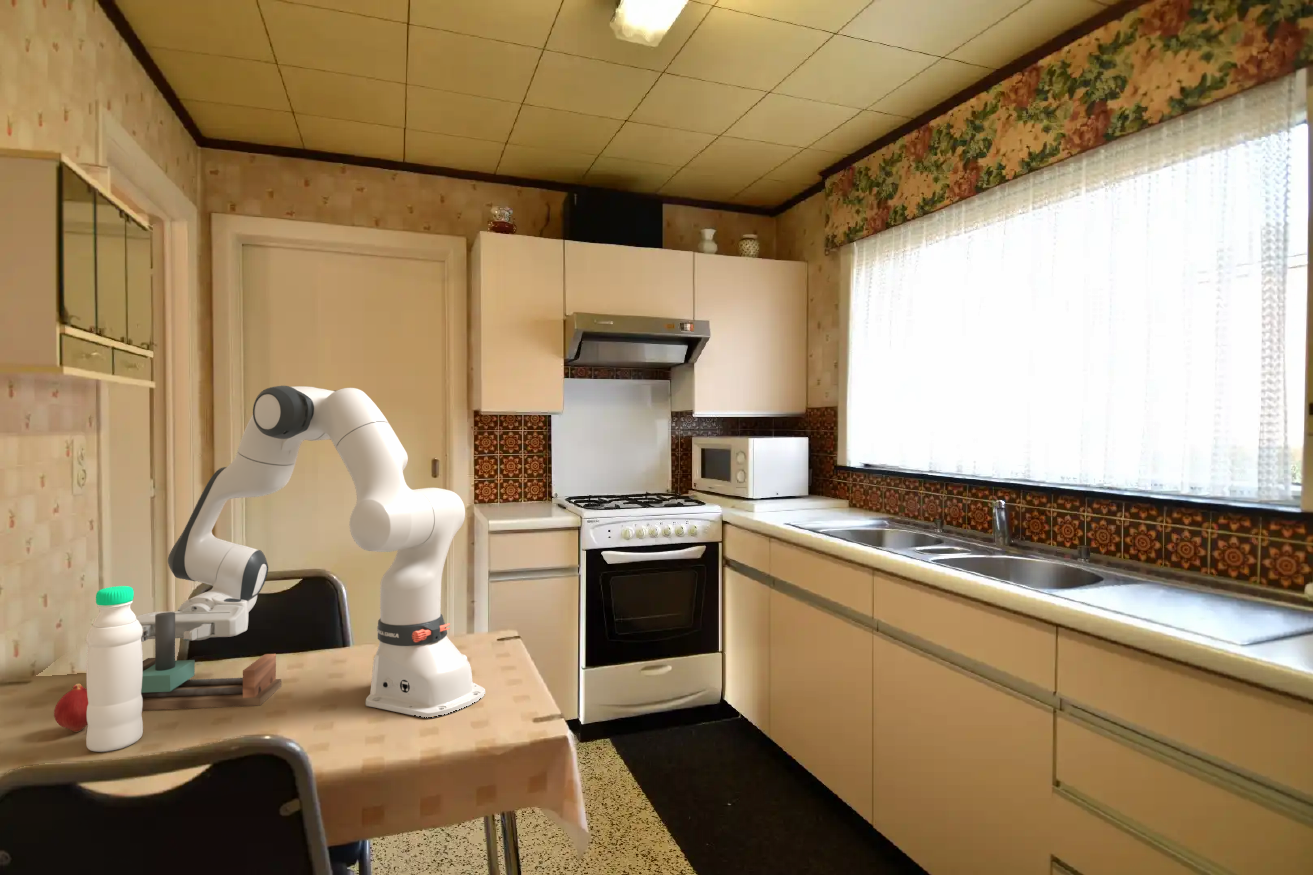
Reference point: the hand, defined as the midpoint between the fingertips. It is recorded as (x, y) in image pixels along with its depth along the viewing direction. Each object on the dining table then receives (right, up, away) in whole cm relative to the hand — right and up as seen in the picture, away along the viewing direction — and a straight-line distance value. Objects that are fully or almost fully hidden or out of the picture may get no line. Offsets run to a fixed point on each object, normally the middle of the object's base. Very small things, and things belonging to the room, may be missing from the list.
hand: (162, 637), depth 124 cm
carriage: (0, -9, +1) cm, 9 cm away
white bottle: (+4, -12, -16) cm, 21 cm away
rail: (+6, -12, +2) cm, 14 cm away
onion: (-5, -12, -12) cm, 18 cm away
